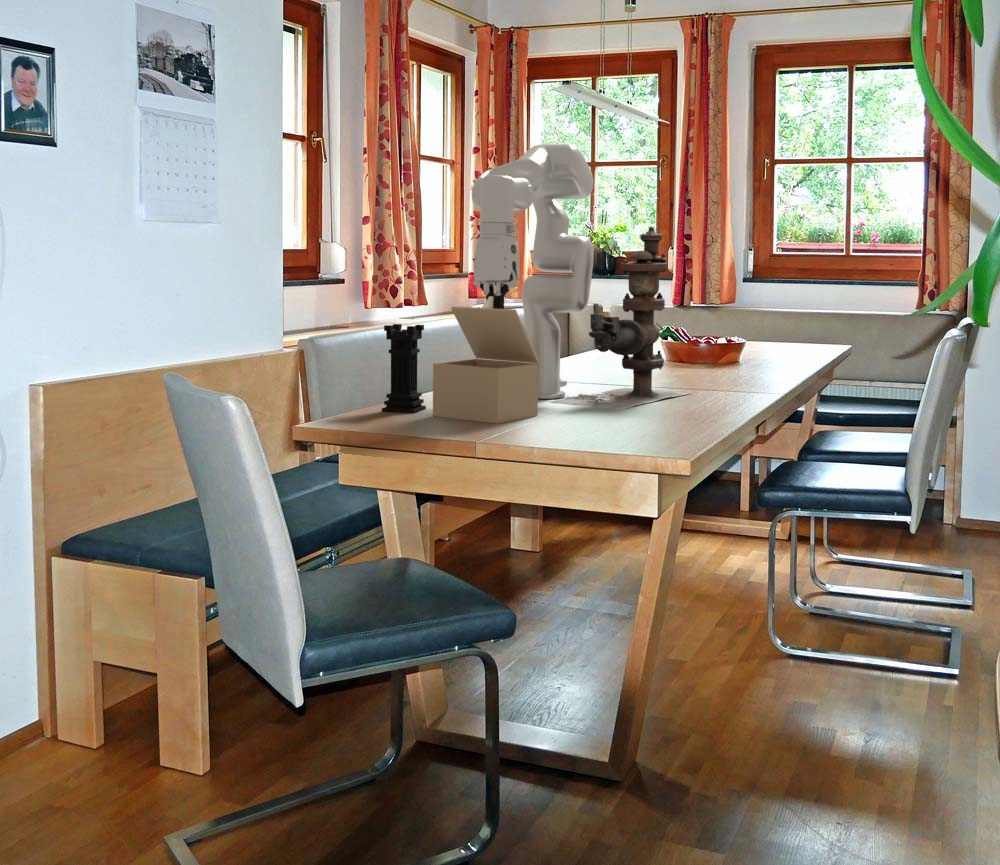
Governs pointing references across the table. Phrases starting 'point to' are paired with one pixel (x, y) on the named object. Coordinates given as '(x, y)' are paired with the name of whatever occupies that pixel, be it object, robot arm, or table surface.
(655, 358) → the valve
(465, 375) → the carton
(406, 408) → the chess piece
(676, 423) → the table surface
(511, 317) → the lid flap
